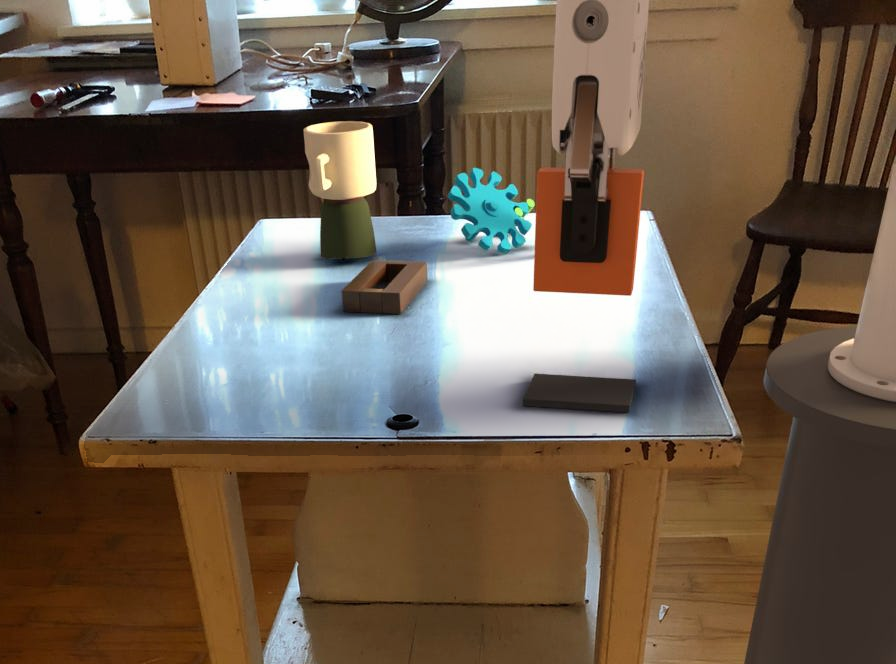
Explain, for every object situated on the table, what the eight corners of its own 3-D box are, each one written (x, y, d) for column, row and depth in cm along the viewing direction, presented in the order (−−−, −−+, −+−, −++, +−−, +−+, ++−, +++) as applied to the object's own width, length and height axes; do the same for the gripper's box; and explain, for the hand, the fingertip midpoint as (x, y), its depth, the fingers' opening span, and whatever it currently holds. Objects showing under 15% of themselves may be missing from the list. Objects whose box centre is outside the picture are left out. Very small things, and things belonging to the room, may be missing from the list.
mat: (635, 386, 76) (636, 379, 76) (629, 413, 72) (629, 405, 72) (534, 380, 78) (534, 373, 78) (522, 406, 74) (522, 398, 74)
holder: (427, 281, 99) (426, 261, 98) (400, 314, 92) (399, 293, 91) (373, 279, 101) (372, 259, 100) (343, 311, 93) (341, 290, 92)
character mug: (340, 242, 112) (329, 116, 105) (397, 246, 110) (390, 117, 102) (297, 270, 105) (281, 136, 97) (357, 275, 102) (346, 138, 94)
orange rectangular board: (536, 285, 72) (540, 166, 67) (633, 290, 70) (644, 168, 65) (533, 291, 70) (537, 171, 66) (631, 296, 69) (642, 173, 64)
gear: (472, 248, 102) (440, 163, 103) (446, 280, 107) (417, 199, 108) (554, 243, 107) (523, 163, 108) (526, 274, 112) (497, 197, 113)
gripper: (660, -62, 51) (627, 294, 62) (678, -72, 63) (648, 228, 74) (518, -57, 53) (511, 289, 64) (562, -67, 64) (550, 225, 76)
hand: (585, 254), depth 69 cm, fingers closed on orange rectangular board, 1 cm apart
